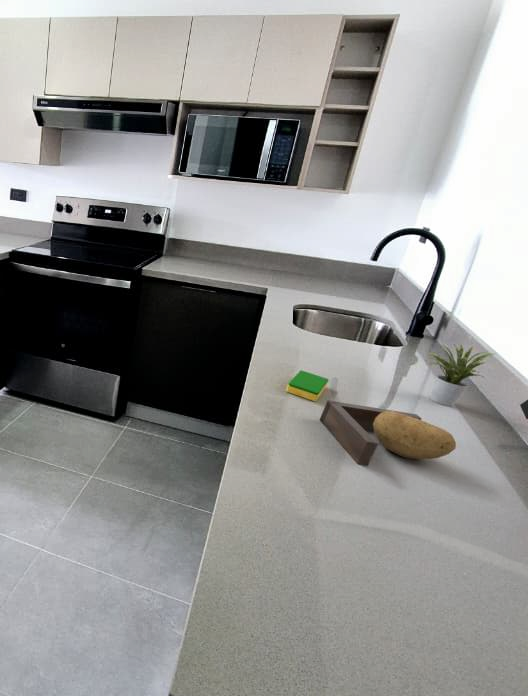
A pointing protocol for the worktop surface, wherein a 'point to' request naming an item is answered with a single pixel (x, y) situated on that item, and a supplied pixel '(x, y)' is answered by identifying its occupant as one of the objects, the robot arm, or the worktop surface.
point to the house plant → (454, 376)
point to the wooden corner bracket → (354, 427)
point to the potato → (412, 436)
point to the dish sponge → (307, 385)
